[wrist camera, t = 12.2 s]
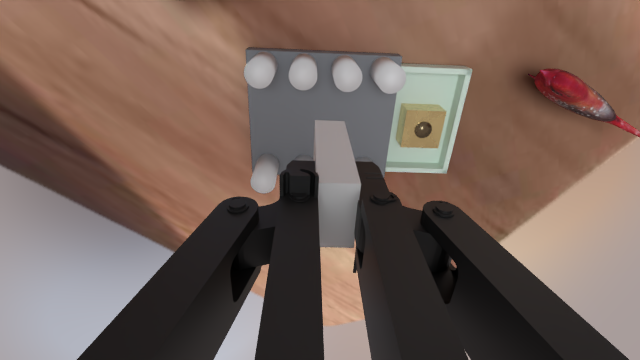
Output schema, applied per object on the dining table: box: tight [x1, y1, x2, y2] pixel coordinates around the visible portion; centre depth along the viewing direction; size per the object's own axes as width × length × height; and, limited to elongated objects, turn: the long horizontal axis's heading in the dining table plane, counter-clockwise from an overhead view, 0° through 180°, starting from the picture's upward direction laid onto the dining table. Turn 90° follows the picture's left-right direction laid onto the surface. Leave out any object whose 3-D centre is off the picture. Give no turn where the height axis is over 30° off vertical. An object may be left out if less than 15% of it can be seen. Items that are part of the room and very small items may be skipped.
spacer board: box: [244, 47, 406, 193], centre depth 39 cm, size 17×15×7 cm
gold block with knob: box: [396, 103, 447, 148], centre depth 41 cm, size 5×5×3 cm
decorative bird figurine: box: [528, 69, 640, 137], centre depth 37 cm, size 3×18×10 cm, turn 64°
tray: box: [385, 63, 472, 173], centre depth 41 cm, size 8×13×2 cm, turn 177°
